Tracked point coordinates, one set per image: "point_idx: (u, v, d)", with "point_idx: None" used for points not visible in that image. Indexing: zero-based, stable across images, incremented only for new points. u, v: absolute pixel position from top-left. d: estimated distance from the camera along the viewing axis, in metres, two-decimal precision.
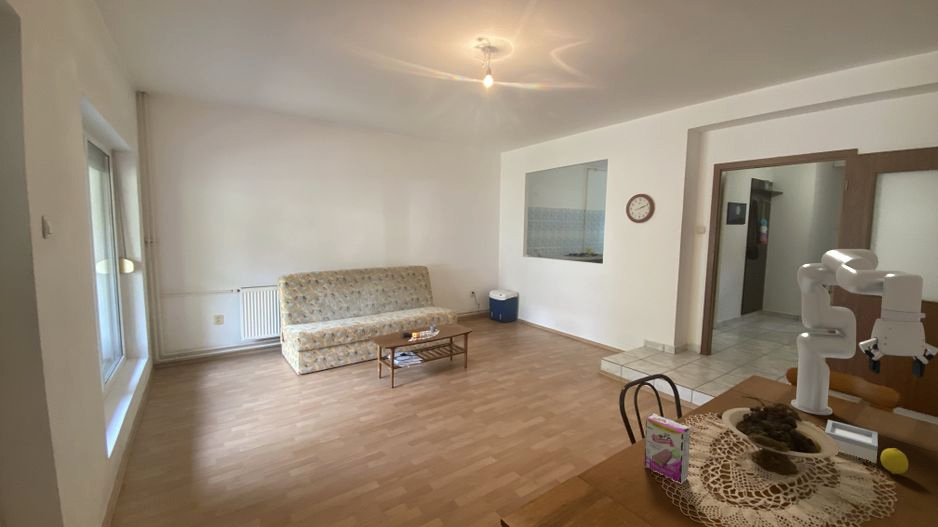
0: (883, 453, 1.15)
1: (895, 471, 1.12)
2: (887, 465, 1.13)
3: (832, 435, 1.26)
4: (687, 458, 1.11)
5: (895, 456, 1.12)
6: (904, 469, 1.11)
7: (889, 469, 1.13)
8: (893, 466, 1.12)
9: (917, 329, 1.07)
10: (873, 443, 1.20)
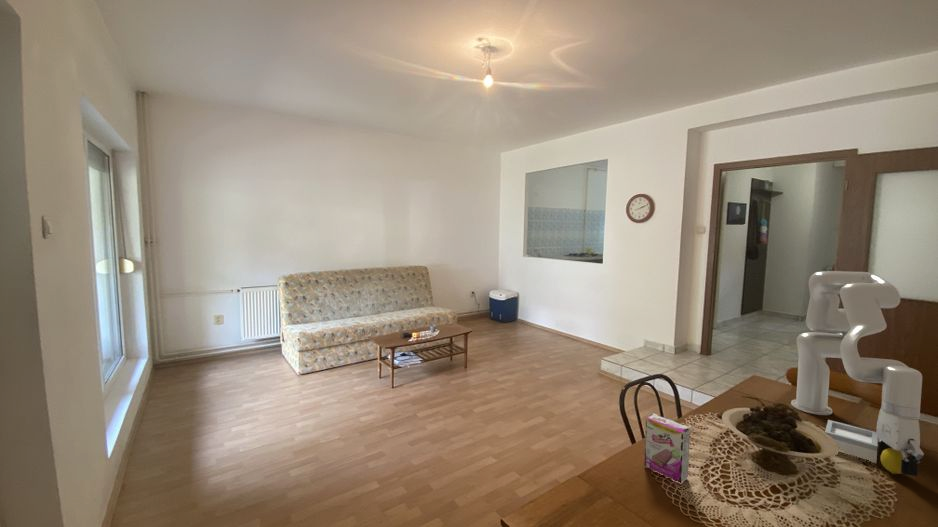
0: (883, 453, 1.15)
1: (895, 471, 1.12)
2: (887, 465, 1.13)
3: (832, 435, 1.26)
4: (687, 458, 1.11)
5: (895, 456, 1.12)
6: None
7: (889, 469, 1.13)
8: (893, 466, 1.12)
9: None
10: (873, 443, 1.20)
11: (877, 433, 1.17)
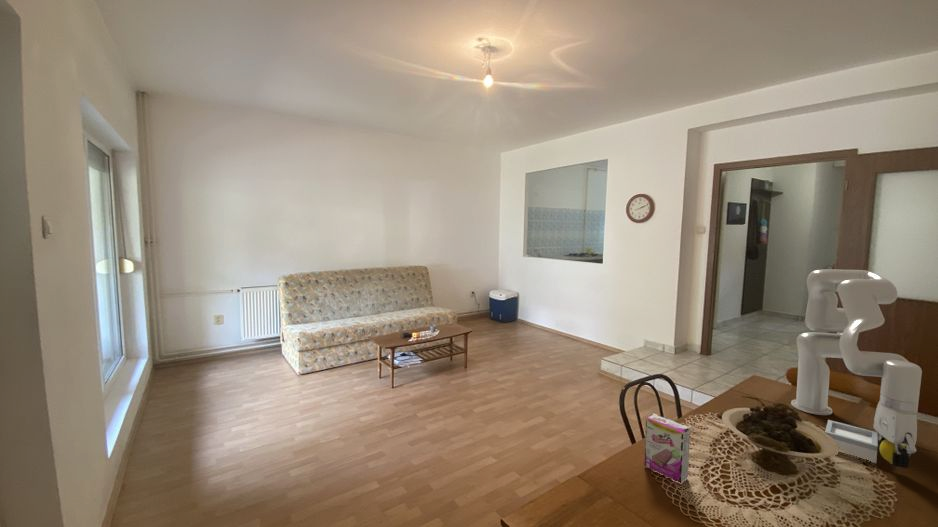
0: (882, 443, 1.15)
1: None
2: (886, 455, 1.14)
3: (832, 435, 1.26)
4: (687, 458, 1.11)
5: (894, 446, 1.12)
6: None
7: (888, 459, 1.14)
8: (892, 456, 1.12)
9: None
10: (873, 443, 1.20)
11: (874, 426, 1.18)
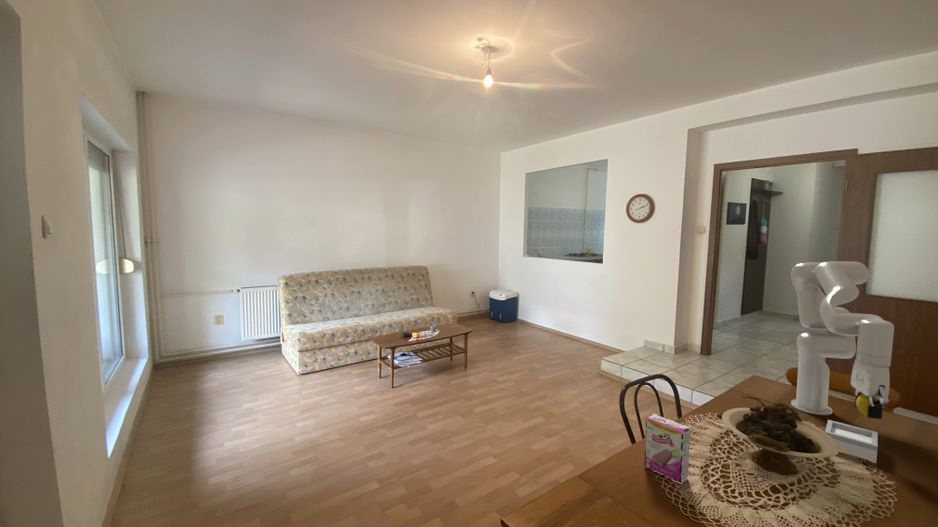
0: (858, 398, 1.22)
1: None
2: (862, 408, 1.21)
3: (832, 435, 1.26)
4: (687, 458, 1.11)
5: (869, 399, 1.20)
6: None
7: (863, 412, 1.21)
8: (867, 409, 1.20)
9: None
10: (873, 443, 1.20)
11: (851, 382, 1.25)
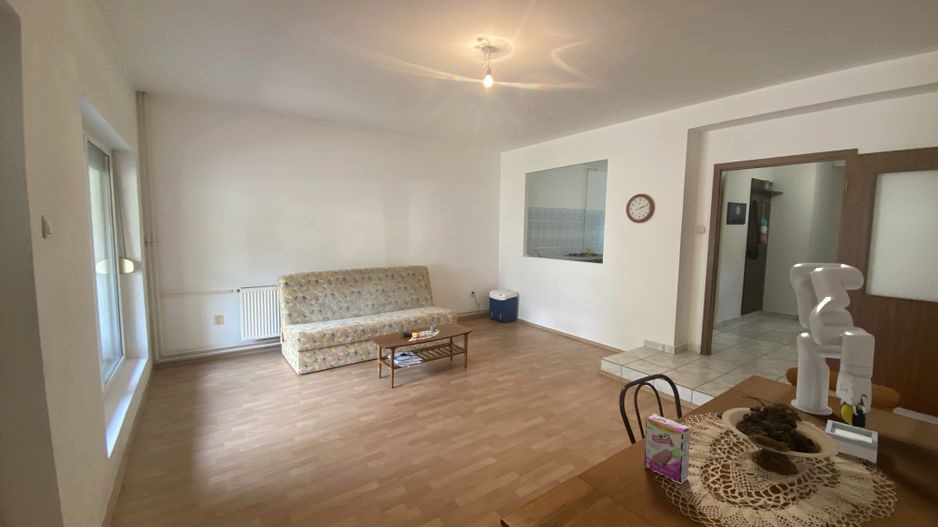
0: (843, 407, 1.27)
1: None
2: (846, 417, 1.26)
3: (832, 435, 1.26)
4: (687, 458, 1.11)
5: None
6: None
7: (848, 421, 1.26)
8: (851, 417, 1.25)
9: None
10: (873, 443, 1.20)
11: (836, 392, 1.30)
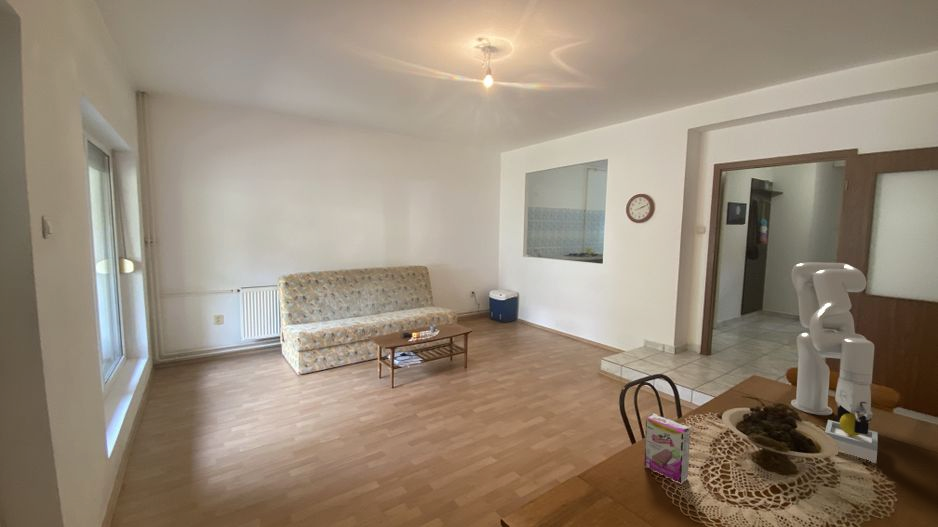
0: (841, 418, 1.28)
1: (851, 433, 1.25)
2: (845, 428, 1.26)
3: (832, 435, 1.26)
4: (687, 458, 1.11)
5: (851, 420, 1.25)
6: None
7: (846, 432, 1.26)
8: (850, 428, 1.25)
9: None
10: (873, 443, 1.20)
11: (836, 398, 1.31)
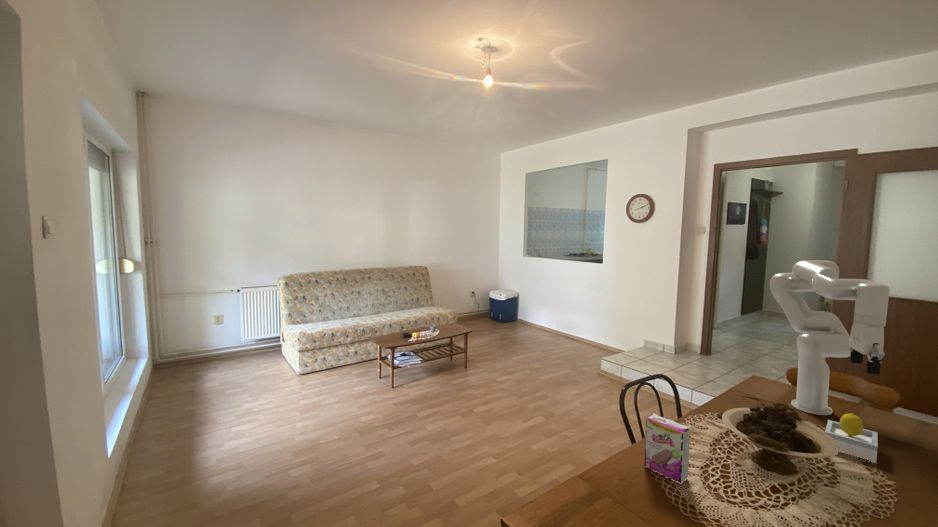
0: (841, 418, 1.28)
1: (851, 433, 1.25)
2: (845, 428, 1.26)
3: (832, 435, 1.26)
4: (687, 458, 1.11)
5: (851, 420, 1.25)
6: (859, 431, 1.24)
7: (846, 432, 1.26)
8: (850, 429, 1.25)
9: None
10: (873, 443, 1.20)
11: (849, 343, 1.34)
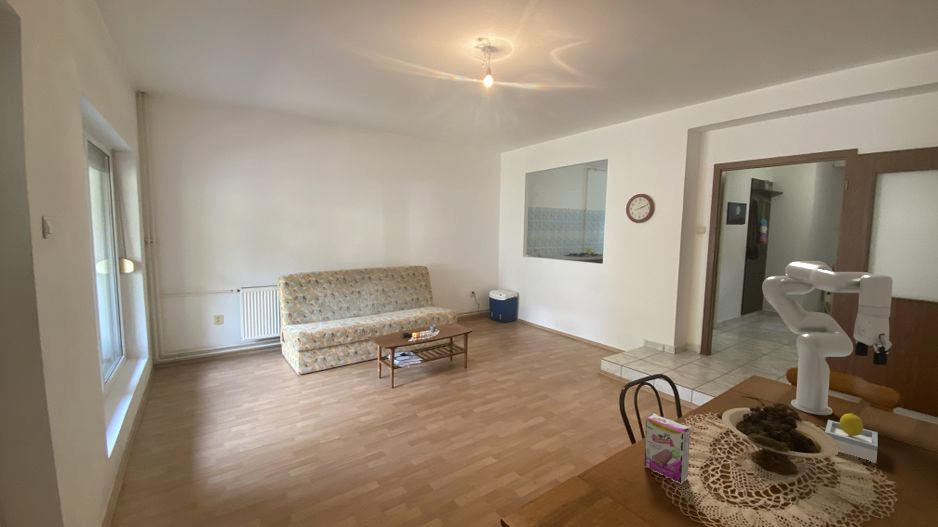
0: (842, 418, 1.28)
1: (851, 433, 1.25)
2: (845, 428, 1.26)
3: (832, 435, 1.26)
4: (687, 458, 1.11)
5: (851, 420, 1.25)
6: (859, 431, 1.24)
7: (846, 432, 1.26)
8: (850, 429, 1.25)
9: None
10: (873, 443, 1.20)
11: (854, 335, 1.35)
